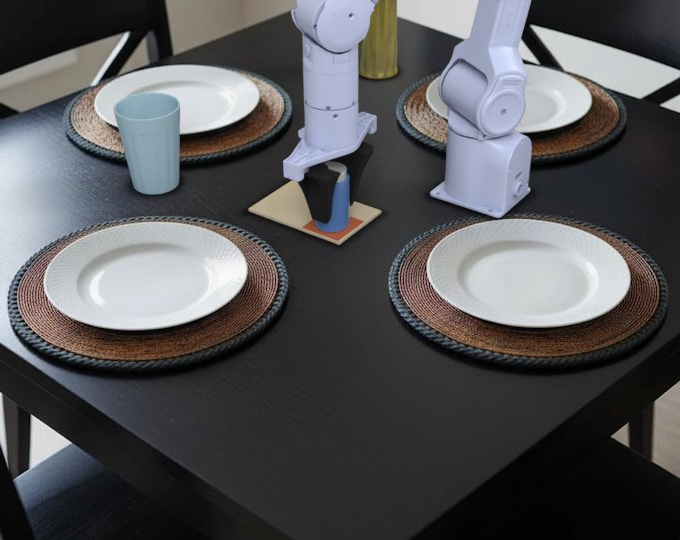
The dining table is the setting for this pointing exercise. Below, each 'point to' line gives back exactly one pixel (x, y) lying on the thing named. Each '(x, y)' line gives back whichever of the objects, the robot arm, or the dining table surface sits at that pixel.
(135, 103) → the cup
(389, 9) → the vase
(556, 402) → the dining table surface
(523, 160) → the robot arm
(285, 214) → the place mat
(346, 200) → the salt shaker
